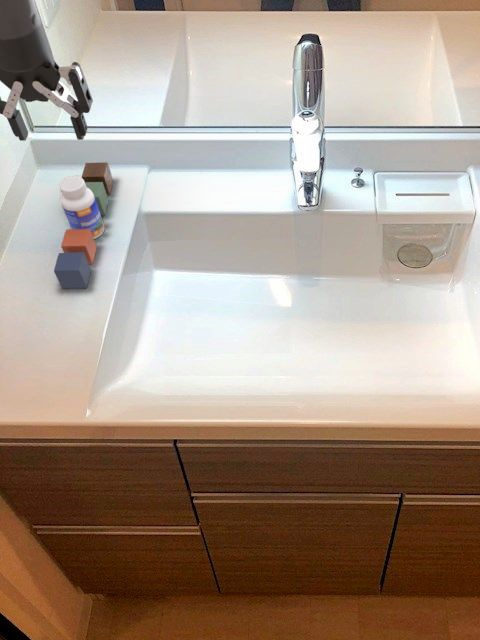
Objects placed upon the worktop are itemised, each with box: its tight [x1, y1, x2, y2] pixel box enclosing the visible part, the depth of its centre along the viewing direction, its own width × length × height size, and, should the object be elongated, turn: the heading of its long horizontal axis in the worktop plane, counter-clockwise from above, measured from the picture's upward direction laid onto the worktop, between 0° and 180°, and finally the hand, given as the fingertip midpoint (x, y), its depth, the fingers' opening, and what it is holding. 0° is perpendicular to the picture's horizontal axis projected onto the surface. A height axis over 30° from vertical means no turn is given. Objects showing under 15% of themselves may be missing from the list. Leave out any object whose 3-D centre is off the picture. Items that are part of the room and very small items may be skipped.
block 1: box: [60, 228, 98, 265], centre depth 104 cm, size 4×4×4 cm
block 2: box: [53, 252, 92, 290], centre depth 101 cm, size 4×4×4 cm
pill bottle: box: [58, 175, 105, 240], centre depth 105 cm, size 5×5×10 cm
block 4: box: [85, 182, 109, 216], centre depth 110 cm, size 4×4×4 cm
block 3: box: [81, 161, 114, 196], centre depth 114 cm, size 4×4×4 cm
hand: (53, 137), depth 94 cm, fingers open, 8 cm apart
